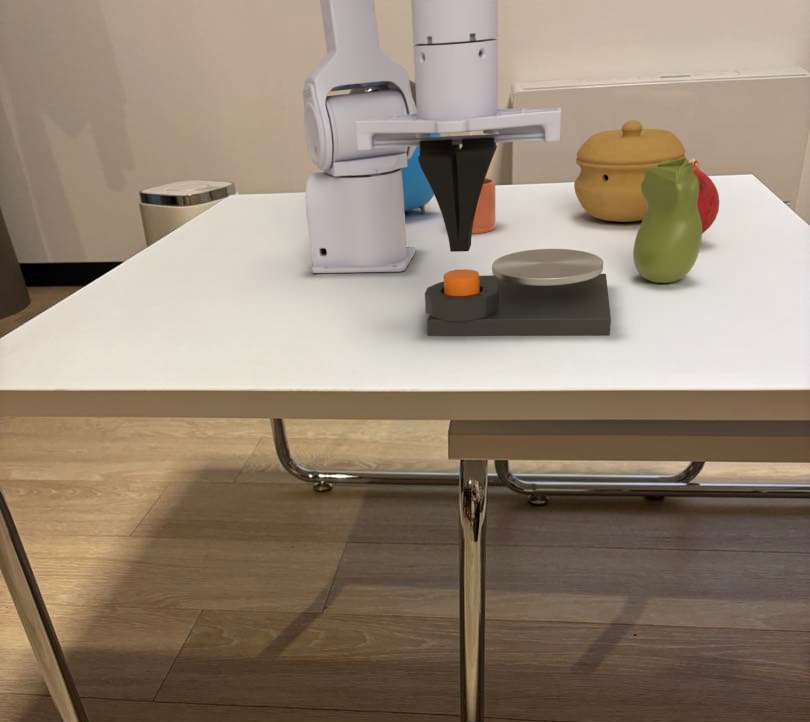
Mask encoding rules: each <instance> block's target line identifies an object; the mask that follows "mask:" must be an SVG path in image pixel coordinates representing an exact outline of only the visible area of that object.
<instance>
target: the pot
mask: <svg viewBox="0 0 810 722" xmlns="http://www.w3.org/2000/svg"><path fill="white" fill-rule="evenodd" d="M685 154H686V148H685V146H684V144H683V142H681V140H680V138H678V137H677V136H676V134H675V133H673V132H671V131H669V130H665V129H658V128H643V125H642V123H641V122H640V121H639V120H637V119H636V120H635V119H634V120H633V119H631V120H627V121H626V122H624V124H623V125H622V127H621V129H612V130H611V129H610V130H605V131H599V132H596V133H594V134H593V135H591V136H590V137H589V138H588V139H586V140H585V141H584V142H583V143H582V145H581V146H580V147H579V149H578V150H577V152H576V158H575V163H576V164H577V165H578V166H579V167H580V172H579V175H578V177H576V179H575V180H574V183H573V184H574V185H573V187H574V193H575V196H576V197H577V200H578V202H579V204H580V206H581V207H582V208H583V210H584V211H585V212H586V213H587V214H588V215H590V216H592V217H593V218H596V219H599V220H602V221H609V222H617V223H618V222H619V223H623V222H625V223H626V222H627V223H628V222H638V221H643V219H644V217H645V214H646V210H647V202H646V200H645V198H644V197H643V194H642V191H641V185H642V182H643V180H644V177H645V172H646V170H649V169H651V168H652V167H656V166H657V165H658V164H660V163H661V162H662V161H664V160H670V161H678V160H680V159H681V160H682V159H684V158H686V155H685Z"/></svg>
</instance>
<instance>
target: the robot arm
mask: <svg viewBox="0 0 810 722" xmlns="http://www.w3.org/2000/svg"><path fill="white" fill-rule="evenodd" d="M319 4H320V11H321V17H322V25H323V32H324V39H325V47H326V55H325V56H324V57H323V59H322V60H321V61H320V62H319V63H318V64H317V65H316V66H315V68H314V69H313V70H312V71H311V72H310V73H309V74H308V75H307V77H306V79H305V81H304V84H303V89H302V97H303V98H302V99H303V108H304V109H303V110H304V111H303V112H304V113H303V123H304V124H303V126H304V127H303V128H304V136H305V141H306V146H307V150H308V153H309V156H310V159H311V161H312V162H313V164H314V165H315V166H317V168H318V169H319V170H320V171H319V172H313V173H310V174H309V175H308V177H307V179H306V184H305V198H304V199H305V212H306V219H307V227H308V238H309V245H310V253H311V261H312V267H311V273H313V274H339V273H341V274H344V273H348V274H349V273H395V272H396V273H397V272H398V273H399V272H404V271H405V270H406V269H407V267H408V265H409V264H410V262H411V260H412V259H413V257H414V255H415V254H416V252H417V247H415V246H407V231H406V230H407V229H406V213H405V212H406V211H405V212H404V196H403V179H402V168H404V167H408V163H407V160H408V159H410V158H411V157H412V155H413V153H414V151H415V149H416V147H417V146H420V156H419V157H418V161H419V164H420V167H421V169H422V171H423V173H424V175H425V176H426V178H427V180H428V182H429V184H430V186H431V189H432V191H433V193H434V198H435V200H436V202H437V205H438V207H439V211H440V214H441V216H442V219H443V223H444V226H445V230H446V234H447V238H448V239H447V240H448V244H449V251H450V252H451V253H454V252H457V253H458V252H460V253H461V252H470V249H471V246H472V237H473V236H472V235H473V234H472V228H473V222H474V216H475V212H476V207H477V203H478V200H479V196H480V193H481V189H482V186H483V183H484V180H485V178H487V174H488V171H489V169H490V167H491V163H492V161H493V158H494V156H495V153H496V151H497V148H498V145H497V144H499V143H501V144H502V143H520V142H522V143H524V142H539V141H540V142H542V141H544V142H545V143H556V142H558V143H559V142H561V137H562V136H561V135H562V111H563V109H562V107H544V108H543V107H542V108H499V97H498V96H499V94H498V93H499V92H498V91H499V89H498V87H499V85H498V83H499V81H498V80H499V79H498V77H499V75H498V74H499V73H498V72H499V69H498V63H499V61H498V58H499V57H498V56H499V55H498V53H499V48H498V45H499V44H498V38H499V37H498V36H499V35H498V31H499V30H498V29H499V27H498V26H499V25H498V24H499V23H498V21H499V20H498V18H499V17H498V14H499V13H498V12H499V11H498V0H410V4H411V8H410V9H411V26H412V27H411V28H412V43H413V47H412V48H413V67H414V82H415V88H416V106H415V103H414V100H413V97H412V93H411V88H410V82H409V80H410V77H409V74H408V71H407V69H406V68H405V67H404V66H403V65H401V64H400V63H399V62H397V61H396V60H395V59H394V58H393V57H391V56H390V55H388V53H386V52H385V51H384V50H383V49H382V48H381V47H380V40H379V39H380V38H379V32H378V23H377V14H376V6H375V0H319ZM369 87H373V88H378V89H380V91H370V92H361V93H351V94H349V93H343V94H334V95H328V94H329V93H331V92H339V91H348V90H349V91H350V90H351V89H359V88H369ZM416 107H417V109H416ZM481 131H482V133H483V134H468V135H447V136H446V135H445V136H440V137H429V136H431V134H432V133H439V134H457V133H458V134H459V133H472V132H481ZM422 137H423V138H422ZM321 171H322V172H321Z"/></svg>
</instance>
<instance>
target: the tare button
mask: <svg viewBox="0 0 810 722" xmlns="http://www.w3.org/2000/svg"><path fill="white" fill-rule="evenodd" d="M479 276H480V272H478V271H477V270H474V269H468V268H467V269H465V268H464V269H463V268H461V269H454V270H449V271H446V272H445V273H444V274H443V282H444V294H445V295H450V296H468V295H473V294H477V293H480V285H479Z"/></svg>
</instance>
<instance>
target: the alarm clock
mask: <svg viewBox="0 0 810 722" xmlns="http://www.w3.org/2000/svg"><path fill="white" fill-rule="evenodd" d="M409 82H410V88H411V93H412V97H413V100H414V103H415V106H416V88H415V81H413V80H411V79H409ZM370 91H380V89H378V88H373V87H369V88H359V89H349V93H348V94H351V93H361V92H370ZM416 109H417V107H416ZM429 137H441V135H440V133H432V134H431V136H429ZM422 138H423V137H422ZM419 156H420V146H417V147H416V149H415V151H414V153H413V155H412V157H411V158H410V159H408V160H407V163H408V167H404V168H402V179H403V196H404V212H409V211H413V210H417V209H420V211H421V213H422V214H423V215H425V214H426V207H425V206H426V205H427V204H428V203H429V202H430V201H431V200H432V199H433V198H434V197H435V195H434V193H433V191H432V189H431V186H430V184H429V182H428V180H427V178H426V176H425V175H424V173H423V171H422V169H421V167H420V164H419V161H418V157H419Z"/></svg>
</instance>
